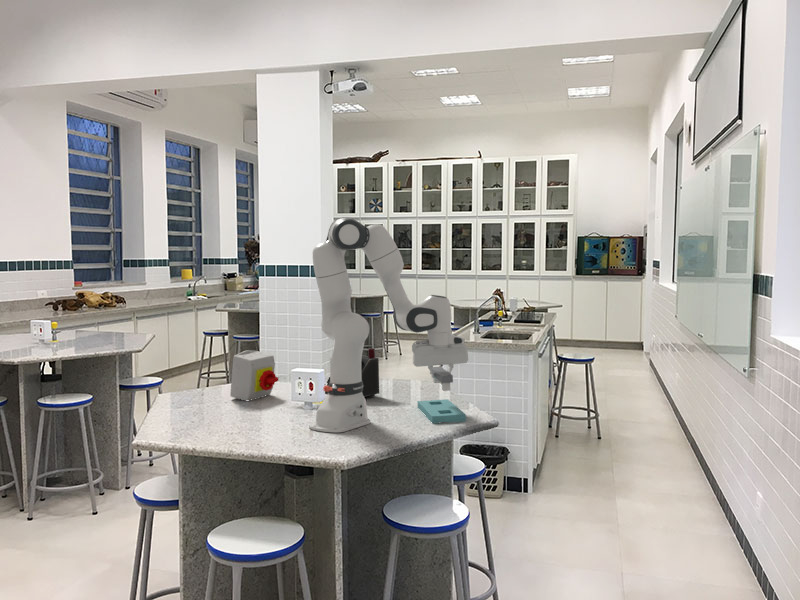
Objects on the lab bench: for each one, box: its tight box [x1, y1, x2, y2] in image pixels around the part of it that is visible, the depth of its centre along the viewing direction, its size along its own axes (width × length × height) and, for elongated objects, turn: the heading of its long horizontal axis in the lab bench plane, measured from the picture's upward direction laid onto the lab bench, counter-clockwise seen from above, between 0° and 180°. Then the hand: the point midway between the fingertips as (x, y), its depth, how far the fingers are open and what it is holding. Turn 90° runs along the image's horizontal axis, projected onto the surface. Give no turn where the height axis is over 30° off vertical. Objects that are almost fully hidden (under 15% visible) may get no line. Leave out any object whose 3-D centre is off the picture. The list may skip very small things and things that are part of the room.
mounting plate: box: [417, 398, 467, 424], centre depth 233 cm, size 24×12×2 cm, turn 11°
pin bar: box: [429, 366, 454, 392], centre depth 232 cm, size 18×4×6 cm, turn 11°
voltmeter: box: [324, 348, 380, 398], centre depth 264 cm, size 16×16×20 cm
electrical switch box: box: [229, 349, 279, 401], centre depth 265 cm, size 15×15×20 cm
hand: (441, 376), depth 232 cm, fingers closed on pin bar, 4 cm apart
